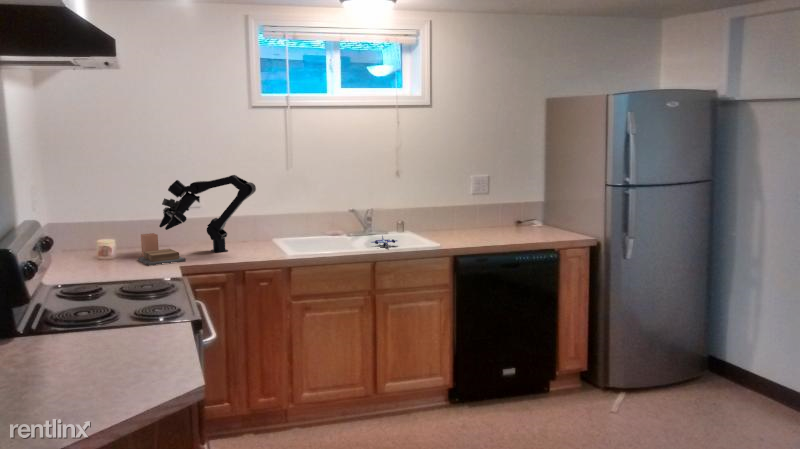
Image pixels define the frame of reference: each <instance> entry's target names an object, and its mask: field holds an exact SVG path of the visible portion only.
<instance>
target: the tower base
mask: <svg viewBox="0 0 800 449" xmlns="http://www.w3.org/2000/svg"><path fill="white" fill-rule="evenodd" d="M137 259H138V261H139V262H141V263H144V264H145V265H147V264H148V265H147V266H149V265H153V266H157V265H156V264H161V265H163V264H162V263H169V264H172V263H171V262H177V263H183V262H186V258H184V257H182V256H180V252H179V251H177V250H173V249H171V248H165V249H159V250H154V251H145V252H144V256H140V257H137Z"/></svg>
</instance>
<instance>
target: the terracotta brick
mask: <svg viewBox="0 0 800 449" xmlns="http://www.w3.org/2000/svg"><path fill="white" fill-rule="evenodd" d="M140 246H141V255H142V256H141V257H144V252H145V251H154V250H160V248H159V235H158V234H157V233H155V232H153V233H150V232H149V233H142V234H140Z"/></svg>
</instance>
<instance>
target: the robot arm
mask: <svg viewBox="0 0 800 449" xmlns="http://www.w3.org/2000/svg"><path fill="white" fill-rule="evenodd" d="M226 185H232V186H234V187H235V188H236V190H238V191H237V194H236V196H235V197H234V199H233V200H232V201H231V202H230V203H229V205H228V206H227V207H226V208H225V210H224V211H223V212H222V213H221V214H220V216H218V218H217V217H215V218H212V219H211V221H210V222H209V223H208V224H207V225H206V226H207V227H206V234H207V235H208V236H209V238H210V240H211V241H212V246H213V247H212V249H210V251H211V252H213V253H223V252H229V250H228V249H226V238H227V236H228V232H227V231H226V230H225V227H226V224H227V222H228V221H229V219H230V218H231V217H232V216H233V214H235V212H237V210H238V209H239V207H240V206H241V205H242V204H243V203H244V202H245V200H247V199H249V198H250V197H251V196H252V195H253V194H254V193H255V192H256V190H257V188H256V184H255V183H253V182H251V181H247V180H245V179H243V178H241V177H239V176H238V175H236V174H232V175H228V176H226V177H225V176H224V177H221V178H216V179H212V180H202V181H201V180H200V181H199V180H197V181H195V182H190V184H189V185H185V184H183V183H182V182H181V181H180V180H179V179H176V180H175V181H174V182H173V183H171V185H169V187H168V189H167V191H168V192H170V193H171V194H172V195H173V196H175V197H176V198H180V199H179V200H175V199H173V198H170V199H167V198H163V201H162V203H161V205H163V206H165V208H163V210H162V212H163V216H162V220H161V221H160V224H159V226H158V227H159V228H163V227H164V226H165V227H164V229H165V230H166V231H169V230H170V229H172V228H174V227H177V226H178V225H182V224H183V223H185V222H186V221H187V216H186V215H185V213H186V212H188V211H190V208H191V206H192V205H193V204H194V203H195V202H197V203H201V201H200V200H201V199H200V198H201V196H199V195H198V194H202V193H204V192H206V191H208V190H211V189H213V188H214V189H215V188H219V187H223V186H226Z"/></svg>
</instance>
